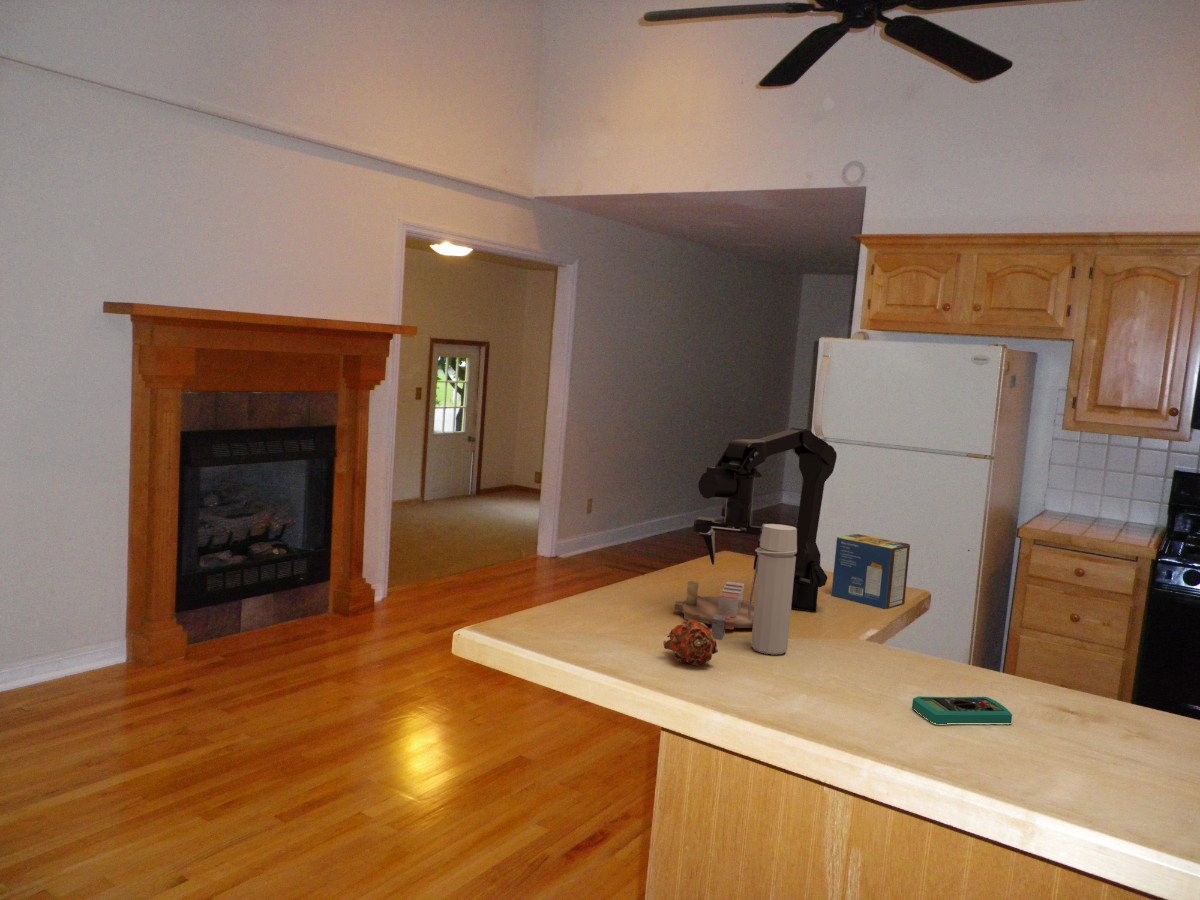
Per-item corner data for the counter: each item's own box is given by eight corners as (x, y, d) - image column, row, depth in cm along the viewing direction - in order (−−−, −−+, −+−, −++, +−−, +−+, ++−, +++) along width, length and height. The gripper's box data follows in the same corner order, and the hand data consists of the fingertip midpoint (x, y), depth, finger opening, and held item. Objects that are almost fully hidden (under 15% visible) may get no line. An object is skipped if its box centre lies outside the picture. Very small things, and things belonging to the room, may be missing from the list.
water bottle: (795, 651, 180) (806, 528, 178) (773, 659, 174) (785, 531, 172) (756, 640, 186) (766, 521, 184) (734, 646, 181) (745, 523, 178)
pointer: (725, 633, 190) (726, 615, 189) (722, 639, 185) (724, 620, 185) (713, 631, 190) (715, 613, 190) (710, 637, 186) (712, 618, 185)
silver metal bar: (742, 600, 208) (744, 582, 208) (736, 617, 193) (737, 598, 192) (725, 598, 209) (726, 580, 209) (717, 615, 194) (719, 596, 193)
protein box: (850, 590, 239) (855, 533, 238) (905, 604, 228) (911, 544, 227) (829, 595, 232) (835, 536, 230) (885, 609, 221) (892, 547, 220)
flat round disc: (726, 597, 217) (729, 570, 217) (801, 622, 199) (804, 593, 198) (653, 606, 203) (655, 578, 203) (726, 635, 185) (729, 604, 184)
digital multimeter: (1014, 728, 148) (1016, 710, 148) (933, 728, 145) (935, 710, 145) (987, 711, 156) (989, 694, 155) (909, 711, 153) (911, 694, 152)
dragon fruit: (706, 682, 163) (669, 670, 173) (736, 650, 167) (698, 641, 177) (683, 646, 161) (647, 636, 171) (714, 615, 164) (677, 607, 175)
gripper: (784, 497, 205) (778, 565, 206) (703, 489, 209) (697, 555, 210) (781, 503, 194) (775, 574, 195) (695, 494, 198) (690, 564, 200)
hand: (733, 566), depth 200 cm, fingers open, 9 cm apart
